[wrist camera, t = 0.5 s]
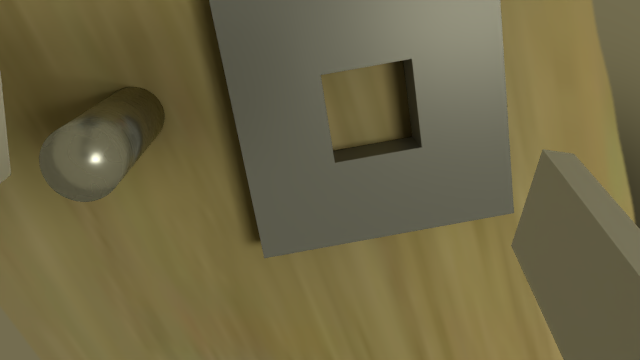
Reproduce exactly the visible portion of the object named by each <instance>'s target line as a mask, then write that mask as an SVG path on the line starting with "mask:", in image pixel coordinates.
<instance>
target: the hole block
mask: <svg viewBox="0 0 640 360" xmlns="http://www.w3.org/2000/svg"><path fill="white" fill-rule="evenodd" d="M209 2H210V7H211V12H212V16H213V21H214V26H215V30H216V35H217V40H218V44H219V49H220V54H221V58H222V63H223V68H224V72H225V77H226V82H227V86H228V91H229V96H230V100H231V105H232V110H233V114H234V119H235V124H236V128H237V133H238V138H239V142H240V147H241V152H242V156H243V161H244V166H245V170H246V175H247V179H248V184H249V189H250V193H251V198H252V203H253V207H254V212H255V217H256V221H257V226H258V231H259V235H260V240H261V245H262V249H263V254H264V258H268V257H273V256H279V255H284V254H290V253H295V252H301V251H307V250H312V249H318V248H323V247H329V246H334V245H340V244H345V243H351V242H356V241H362V240H367V239H373V238H378V237H384V236H389V235H395V234H400V233H406V232H411V231H417V230H422V229H428V228H433V227H439V226H444V225H450V224H456V223H461V222H467V221H472V220H478V219H483V218H489V217H494V216H500V215H505V214H511V213H514V207H513V192H512V176H511V161H510V145H509V129H508V114H507V98H506V83H505V67H504V51H503V36H502V20H501V5H500V0H209ZM402 60H403V63H404V71H405V80H406V88H407V97H408V105H409V114H410V122H411V131H412V137H409V138H403V139H398V140H392V141H386V142H381V143H375V144H369V145H364V146H358V147H353V148H347V149H341V150H336V151H333V148H332V142H331V136H330V130H329V124H328V118H327V112H326V106H325V99H324V93H323V87H322V81H321V75H322V74H328V73H334V72H340V71H345V70H351V69H357V68H362V67H368V66H374V65H379V64H385V63H391V62H396V61H402Z"/></svg>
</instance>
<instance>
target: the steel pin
mask: <svg viewBox="0 0 640 360" xmlns="http://www.w3.org/2000/svg"><path fill="white" fill-rule="evenodd" d="M164 120H165V114H164V110H163V107H162V105H161V103H160V101H159V100H158V99H157V97H156V96H155V95H154V94H152V93H151V92H149V91H147V90H145V89H143V88H139V87H127V88H123V89H121V90H119V91H117V92H116V93H114V94H112V95H111V96H109V97H108V98H106V99H105V100H103V101H101V102H100V103H98V104H97V105H95V106H94V107H92V108H90V109H89V110H87V111H86V112H84V113H83V114H81V115H79V116H78V117H76V118H75V119H73V120H72V121H70V122H68V123H67V124H65V125H64V126H62V127H61V128H59V129H57V130H56V131H54V132H53V133H52V134H50V135H49V136H48V137H47V139H46V140H45V141H44V143H43V145H42V148H41V151H40V156H39V163H40V169H41V172H42V174H43V177H44V178H45V180H46V182H47V183H48V184H49V186H50V187H51V188H52V189H53V190H54V191H56V192H57V193H58V194H60V195H62V196H63V197H65V198H68V199H71V200H74V201H80V202H89V201H95V200H98V199H101V198H103V197H105V196H106V195H108V194H109V193H110V192H111V191H112V190H113V189H114V188H115V187H116V186H117V185H118V183H119V182H120V181H121V180H122V178H123V177H124V176H125V175H126V174H127V172H128V171H129V170H130V169H131V167H132V166H133V165H134V164H135V163H136V161H137V160H138V159H139V158H140V156H141V155H142V154H143V153H144V152H145V150H146V149H147V148H148V147H149V145H150V144H151V143H152V142H153V141H154V139H155V138H156V137H157V136H158V134H159V133H160V132H161V130H162V128H163V125H164Z"/></svg>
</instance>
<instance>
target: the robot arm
mask: <svg viewBox="0 0 640 360" xmlns="http://www.w3.org/2000/svg"><path fill="white" fill-rule="evenodd" d="M10 175H11V169H10V159H9V150H8V140H7V131H6V121H5V111H4V102H3V92H2V83H1V73H0V183H1V182H2V181H4V180H5V179H6V178H7V177H9V176H10ZM511 246H512V248H513V250H514V253H515V255H516V257H517V259H518V261H519V263H520V266H521V268H522V270H523V272H524V274H525V276H526V279H527V281H528V283H529V285H530V287H531V290H532V292H533V294H534V296H535V298H536V300H537V303H538V305H539V307H540V309H541V311H542V313H543V316H544V318H545V320H546V322H547V324H548V326H549V329H550V331H551V333H552V335H553V337H554V339H555V342H556V344H557V346H558V348H559V350H560V353H561V355H562V357H563V359H564V360H640V229H639V228H638V227H637V226H636V224H635V223H634V222H633V221H632V220H631V219H630V218H629V216H628V215H627V214H626V213H625V212H624V211H623V210H622V208H621V207H620V206H619V205H618V204H617V203H616V202H615V200H614V199H613V198H612V197H611V196H610V195H609V194H608V192H607V191H606V190H605V189H604V188H603V187H602V185H601V184H600V183H599V182H598V181H597V180H596V179H595V177H594V176H593V175H592V174H591V173H590V172H589V171H588V169H587V168H586V167H585V166H584V165H583V164H582V163H581V161H580V160H579V159H578V158H577V157H576V156H575V155H574V154H571V153H564V152H557V151H550V150H542V153H541V156H540V159H539V162H538V165H537V169H536V172H535V175H534V178H533V181H532V184H531V187H530V190H529V193H528V196H527V199H526V202H525V205H524V208H523V212H522V215H521V218H520V221H519V224H518V227H517V230H516V233H515V236H514V239H513V242H512V245H511Z"/></svg>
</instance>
